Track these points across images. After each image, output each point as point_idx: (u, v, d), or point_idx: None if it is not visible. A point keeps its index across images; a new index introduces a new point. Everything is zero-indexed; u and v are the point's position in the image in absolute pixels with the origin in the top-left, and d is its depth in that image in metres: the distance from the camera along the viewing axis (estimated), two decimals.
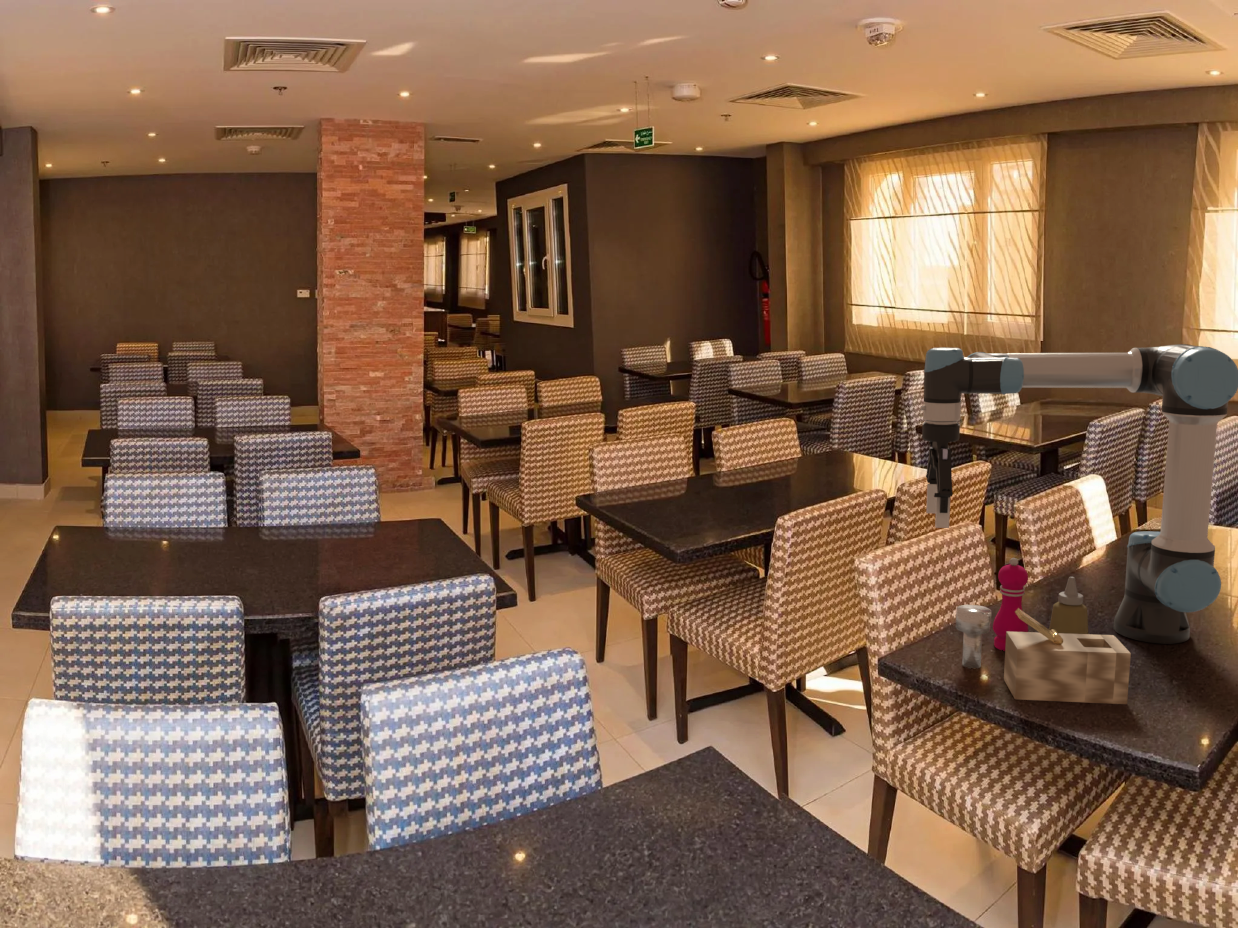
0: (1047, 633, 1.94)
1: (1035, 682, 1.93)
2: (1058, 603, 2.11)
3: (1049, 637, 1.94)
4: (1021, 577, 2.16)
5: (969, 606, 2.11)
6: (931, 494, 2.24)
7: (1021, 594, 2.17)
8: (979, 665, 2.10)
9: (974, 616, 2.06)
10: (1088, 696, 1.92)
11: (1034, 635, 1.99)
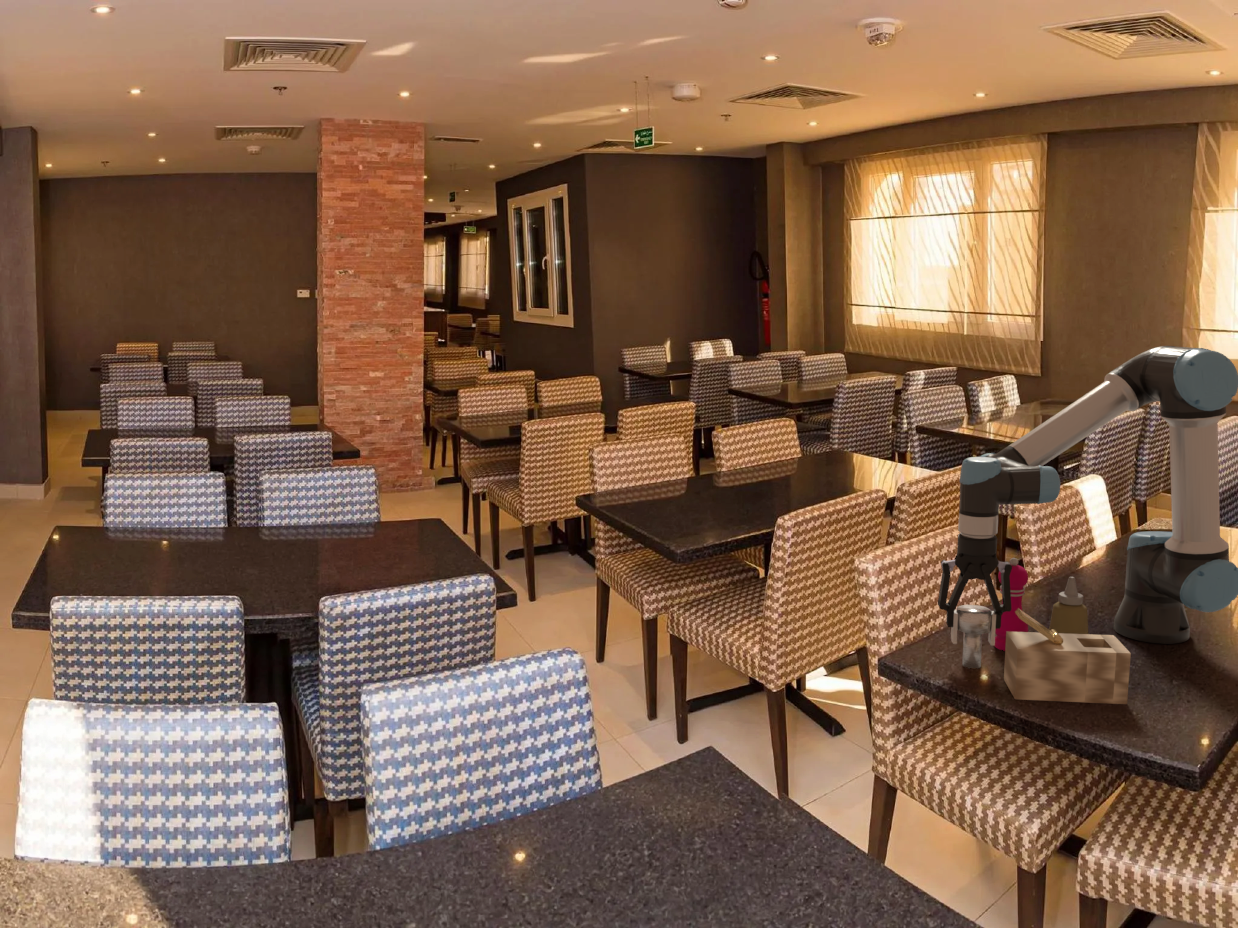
0: (1047, 633, 1.94)
1: (1035, 682, 1.93)
2: (1058, 603, 2.11)
3: (1049, 637, 1.94)
4: (1021, 577, 2.16)
5: (969, 606, 2.11)
6: None
7: (1021, 594, 2.17)
8: (979, 665, 2.10)
9: (974, 616, 2.06)
10: (1088, 696, 1.92)
11: (1034, 635, 1.99)
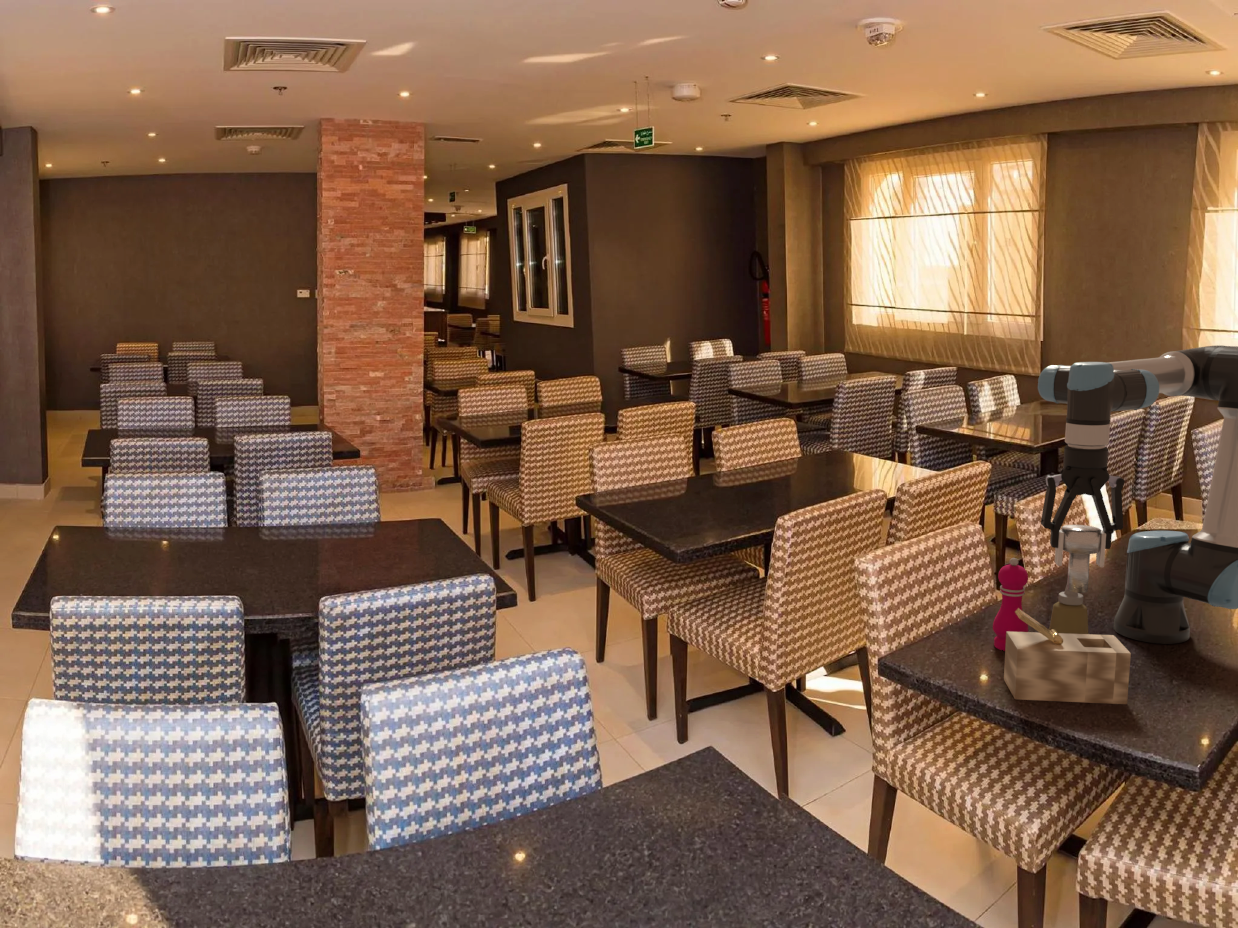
0: (1047, 633, 1.94)
1: (1035, 682, 1.93)
2: (1058, 603, 2.11)
3: (1049, 637, 1.94)
4: (1021, 577, 2.16)
5: (1075, 526, 1.96)
6: None
7: (1021, 594, 2.17)
8: (1086, 589, 1.94)
9: (1082, 534, 1.90)
10: (1088, 696, 1.92)
11: (1034, 635, 1.99)
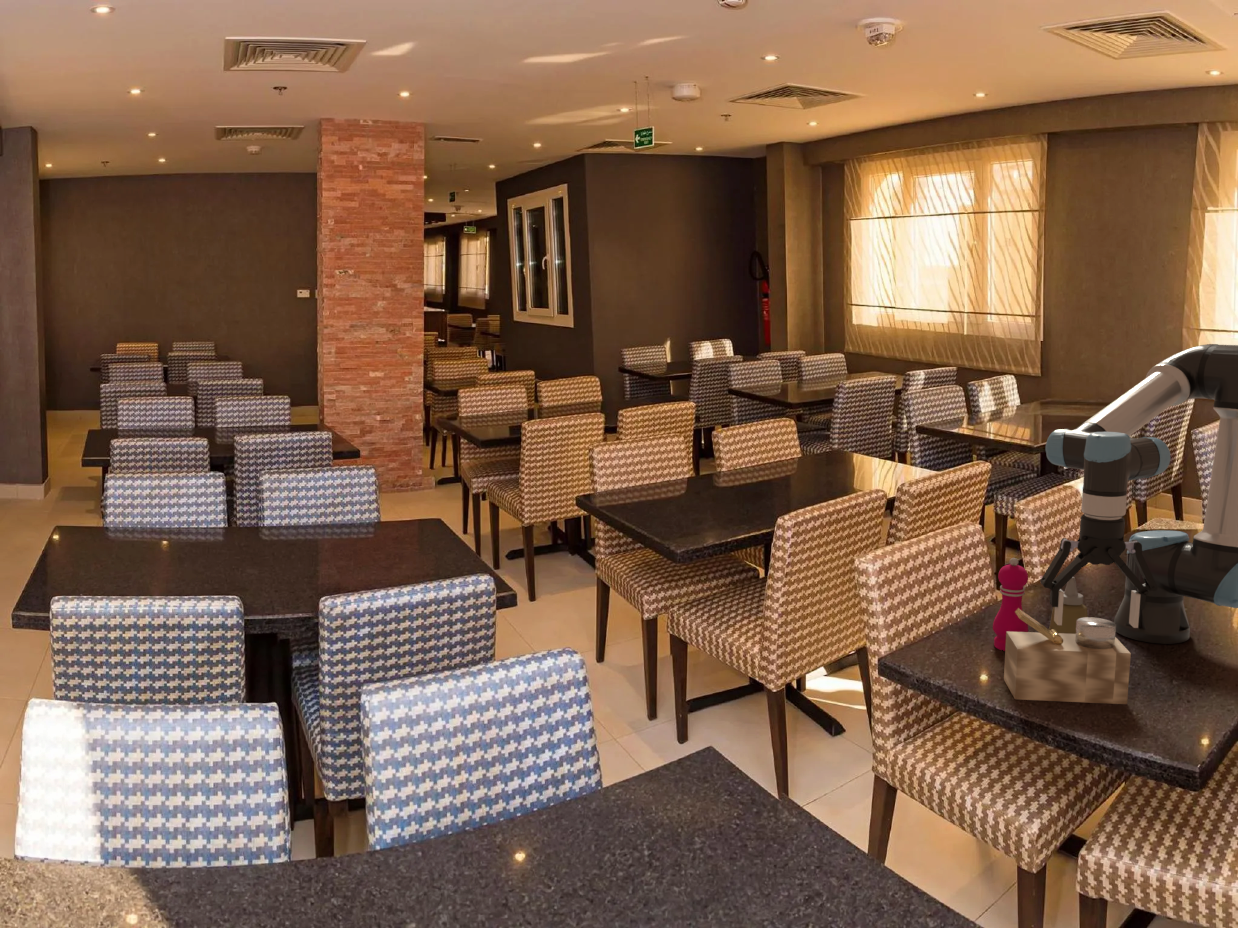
0: (1047, 633, 1.94)
1: (1035, 682, 1.93)
2: None
3: (1049, 637, 1.94)
4: (1021, 577, 2.16)
5: (1089, 619, 1.96)
6: (1132, 602, 1.93)
7: (1021, 594, 2.17)
8: None
9: (1098, 630, 1.91)
10: (1088, 696, 1.92)
11: (1034, 635, 1.99)
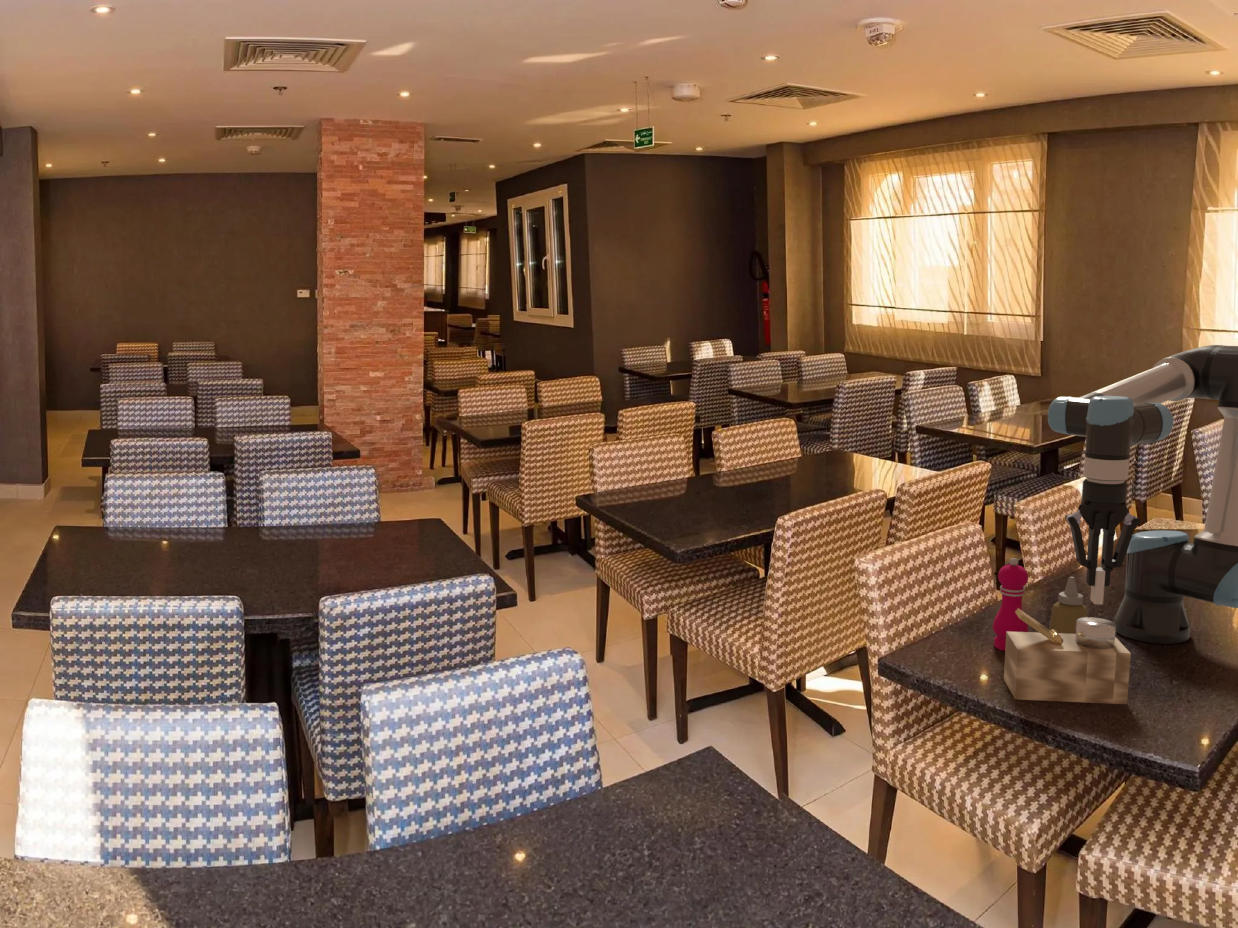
0: (1047, 633, 1.94)
1: (1035, 682, 1.93)
2: (1058, 603, 2.11)
3: (1049, 637, 1.94)
4: (1021, 577, 2.16)
5: (1089, 619, 1.96)
6: None
7: (1021, 594, 2.17)
8: None
9: (1098, 630, 1.91)
10: (1088, 696, 1.92)
11: (1034, 635, 1.99)
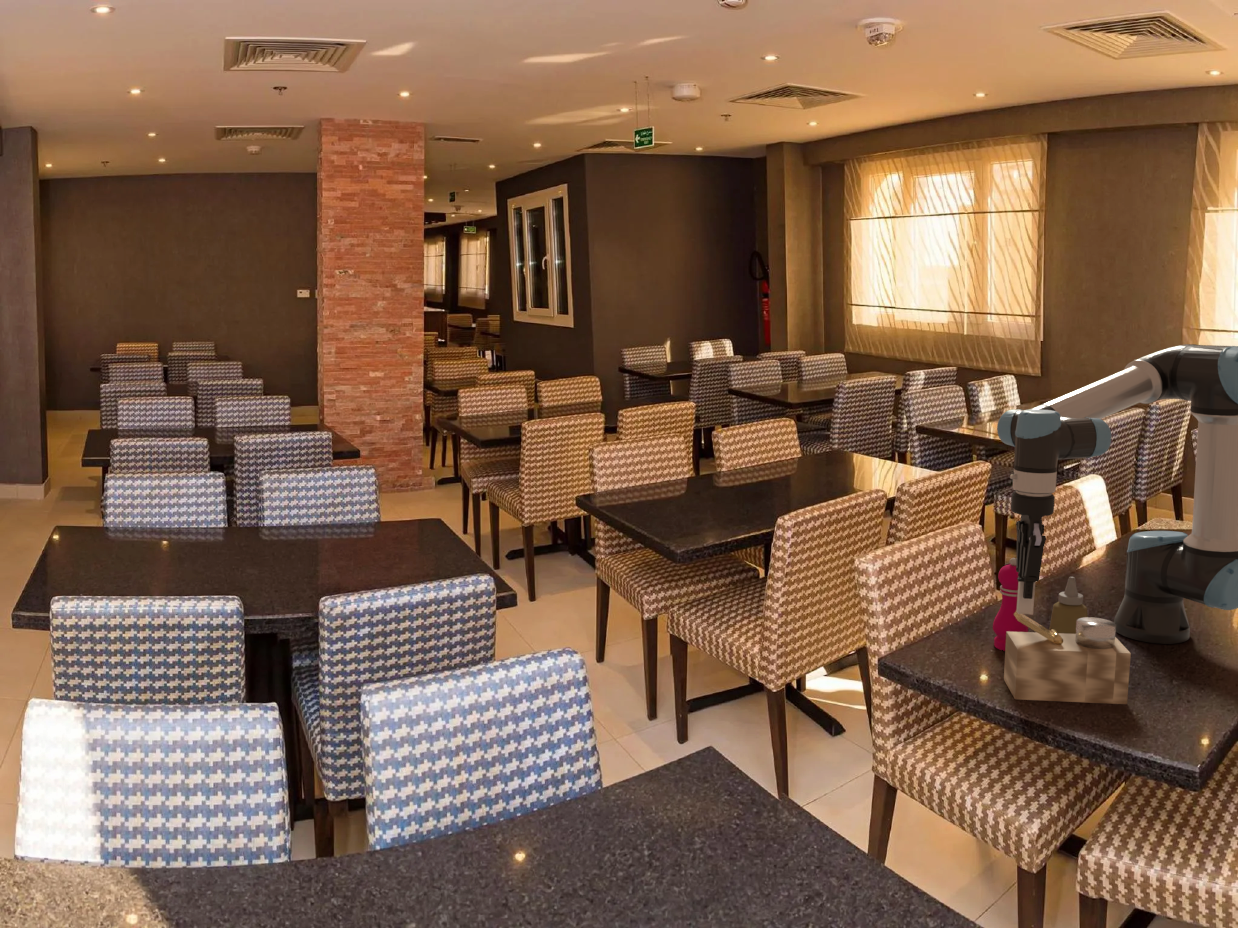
0: (1047, 634, 1.94)
1: (1035, 682, 1.93)
2: (1058, 603, 2.11)
3: (1049, 638, 1.94)
4: None
5: (1089, 619, 1.96)
6: (1023, 590, 1.95)
7: None
8: None
9: (1098, 630, 1.91)
10: (1088, 696, 1.92)
11: (1034, 635, 1.99)
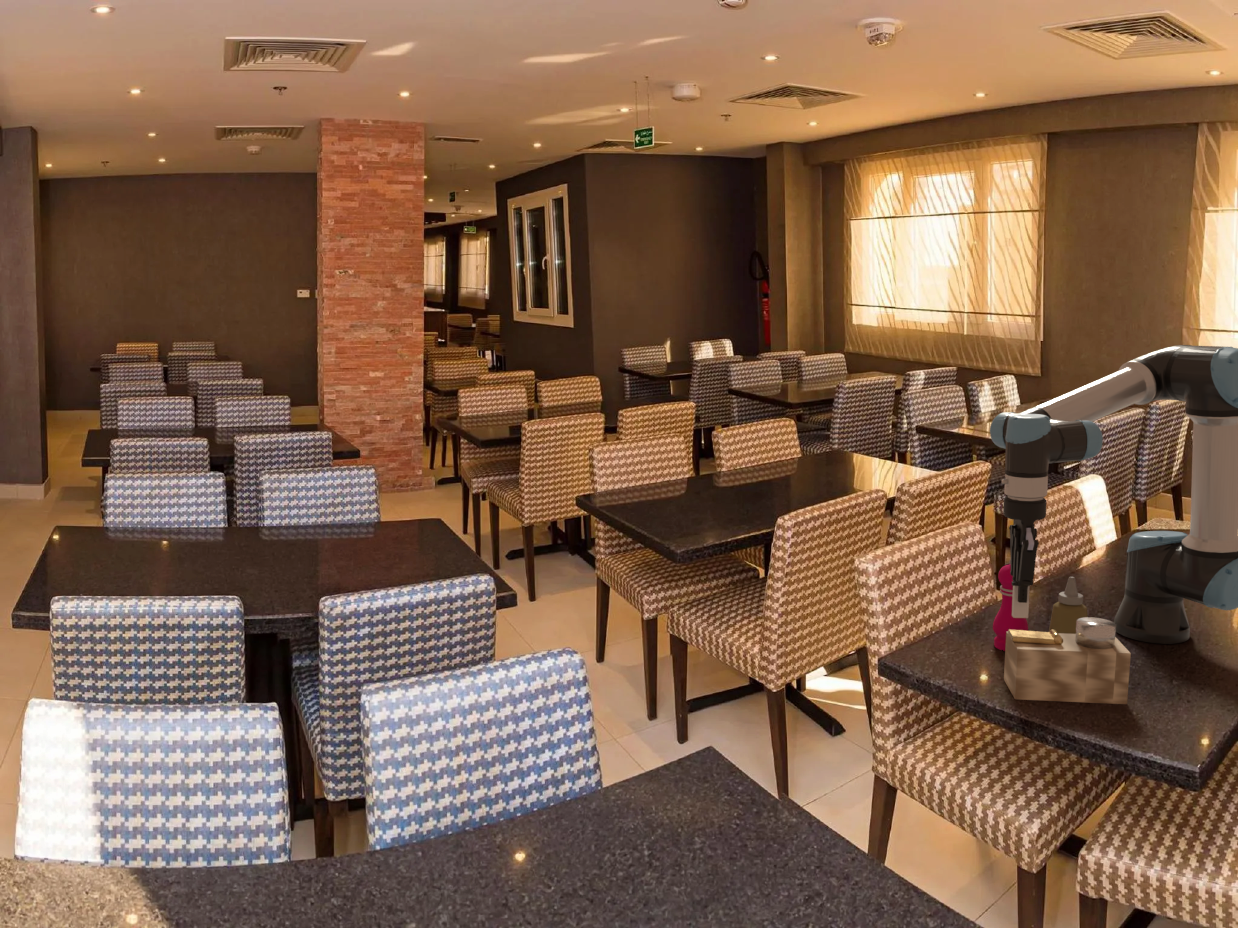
0: (1044, 640, 1.94)
1: (1035, 682, 1.93)
2: (1058, 603, 2.11)
3: (1049, 642, 1.94)
4: None
5: (1089, 619, 1.96)
6: None
7: None
8: None
9: (1098, 630, 1.91)
10: (1088, 696, 1.92)
11: None
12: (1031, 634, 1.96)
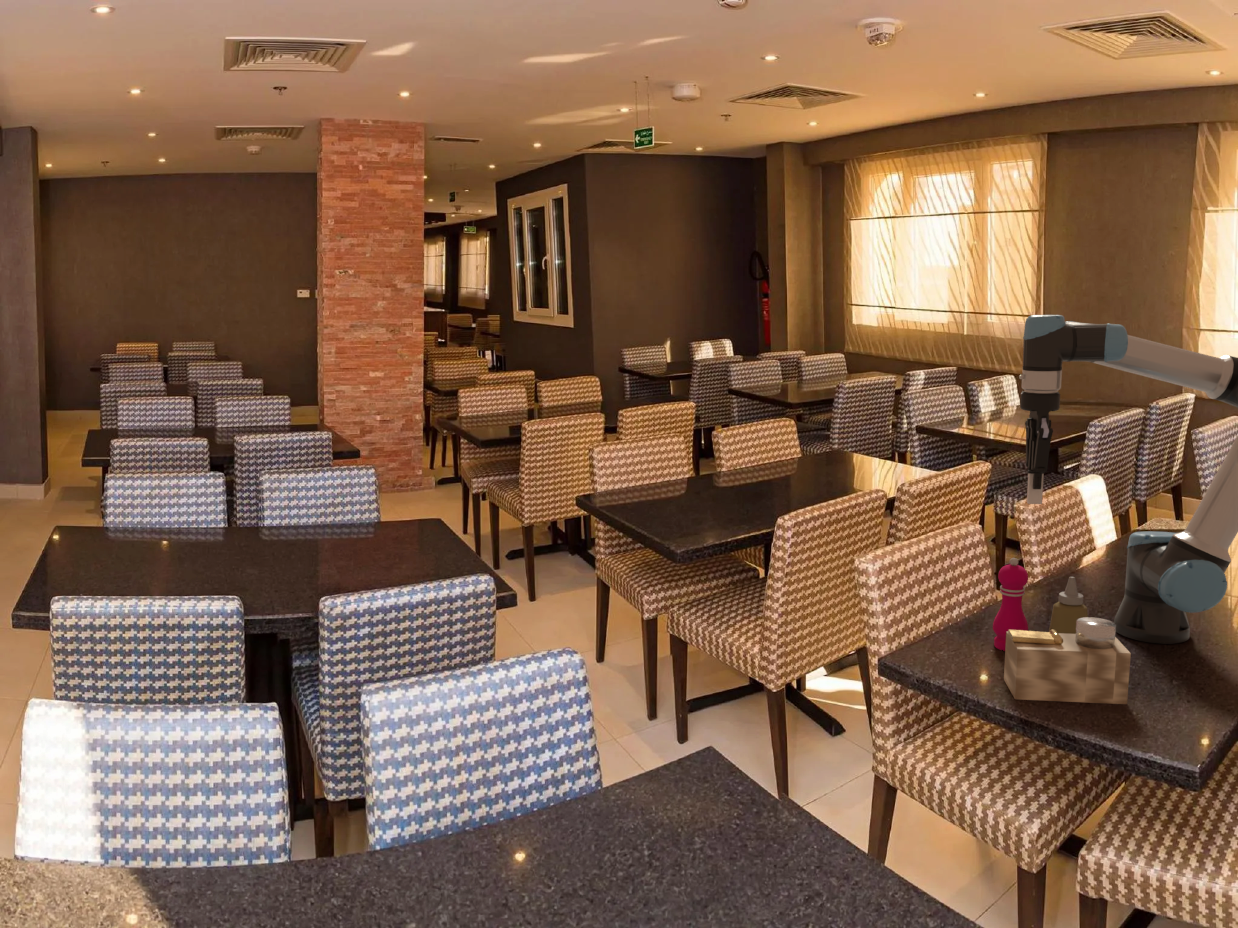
0: (1044, 640, 1.94)
1: (1035, 682, 1.93)
2: (1058, 603, 2.11)
3: (1049, 642, 1.94)
4: (1021, 577, 2.16)
5: (1089, 619, 1.96)
6: None
7: (1021, 594, 2.17)
8: None
9: (1098, 630, 1.91)
10: (1088, 696, 1.92)
11: None
12: (1031, 634, 1.96)
